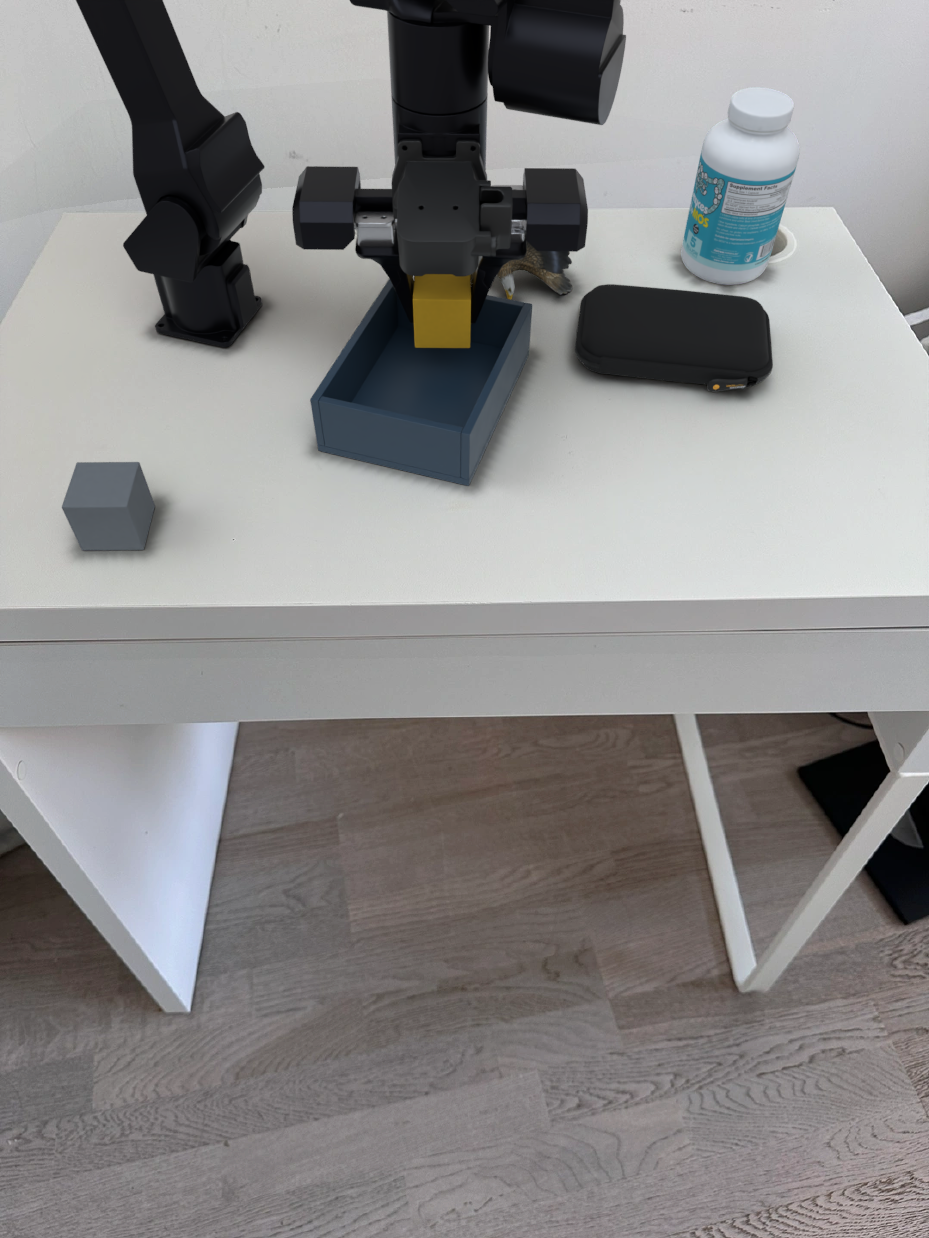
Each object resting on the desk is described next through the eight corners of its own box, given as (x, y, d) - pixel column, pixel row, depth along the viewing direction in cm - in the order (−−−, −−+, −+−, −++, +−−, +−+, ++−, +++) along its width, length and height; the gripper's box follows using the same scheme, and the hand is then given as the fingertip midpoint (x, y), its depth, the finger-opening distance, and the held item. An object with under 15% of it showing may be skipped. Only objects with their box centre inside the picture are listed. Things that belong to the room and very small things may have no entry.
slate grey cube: (81, 550, 60) (60, 507, 57) (95, 506, 63) (76, 461, 60) (144, 550, 60) (126, 506, 57) (155, 505, 63) (139, 461, 60)
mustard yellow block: (414, 348, 68) (412, 299, 64) (416, 315, 70) (414, 266, 67) (470, 348, 68) (470, 300, 64) (470, 315, 70) (470, 267, 67)
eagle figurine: (460, 308, 75) (574, 294, 73) (449, 211, 72) (566, 194, 71) (473, 306, 82) (577, 293, 80) (463, 218, 80) (569, 202, 78)
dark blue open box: (317, 451, 66) (309, 399, 63) (393, 327, 75) (390, 276, 71) (469, 486, 64) (469, 435, 61) (528, 355, 73) (532, 303, 69)
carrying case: (569, 389, 70) (768, 410, 69) (573, 355, 68) (780, 376, 67) (580, 306, 77) (762, 324, 76) (584, 273, 74) (773, 290, 73)
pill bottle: (678, 237, 83) (711, 75, 73) (763, 244, 83) (809, 81, 72) (678, 285, 79) (713, 120, 68) (768, 293, 78) (817, 127, 68)
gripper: (263, 160, 51) (301, 391, 63) (609, 162, 51) (579, 393, 63) (287, 69, 57) (317, 294, 70) (592, 72, 58) (568, 296, 70)
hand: (442, 320), depth 68 cm, fingers closed on mustard yellow block, 4 cm apart
